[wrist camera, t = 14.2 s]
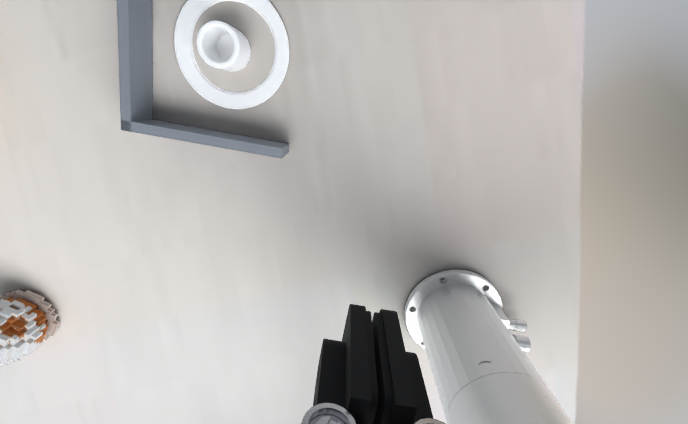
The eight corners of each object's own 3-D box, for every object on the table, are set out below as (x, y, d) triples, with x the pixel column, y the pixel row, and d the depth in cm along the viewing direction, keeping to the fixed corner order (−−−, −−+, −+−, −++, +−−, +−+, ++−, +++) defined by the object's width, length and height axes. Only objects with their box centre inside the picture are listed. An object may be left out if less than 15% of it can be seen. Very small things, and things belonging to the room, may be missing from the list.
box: (310, -29, 33) (305, -45, 30) (288, 152, 39) (281, 158, 35) (141, -62, 33) (114, -83, 29) (143, 126, 38) (121, 129, 35)
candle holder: (262, -36, 34) (250, -54, 30) (307, 86, 37) (301, 84, 33) (156, 11, 35) (131, -1, 31) (209, 124, 39) (192, 127, 35)
